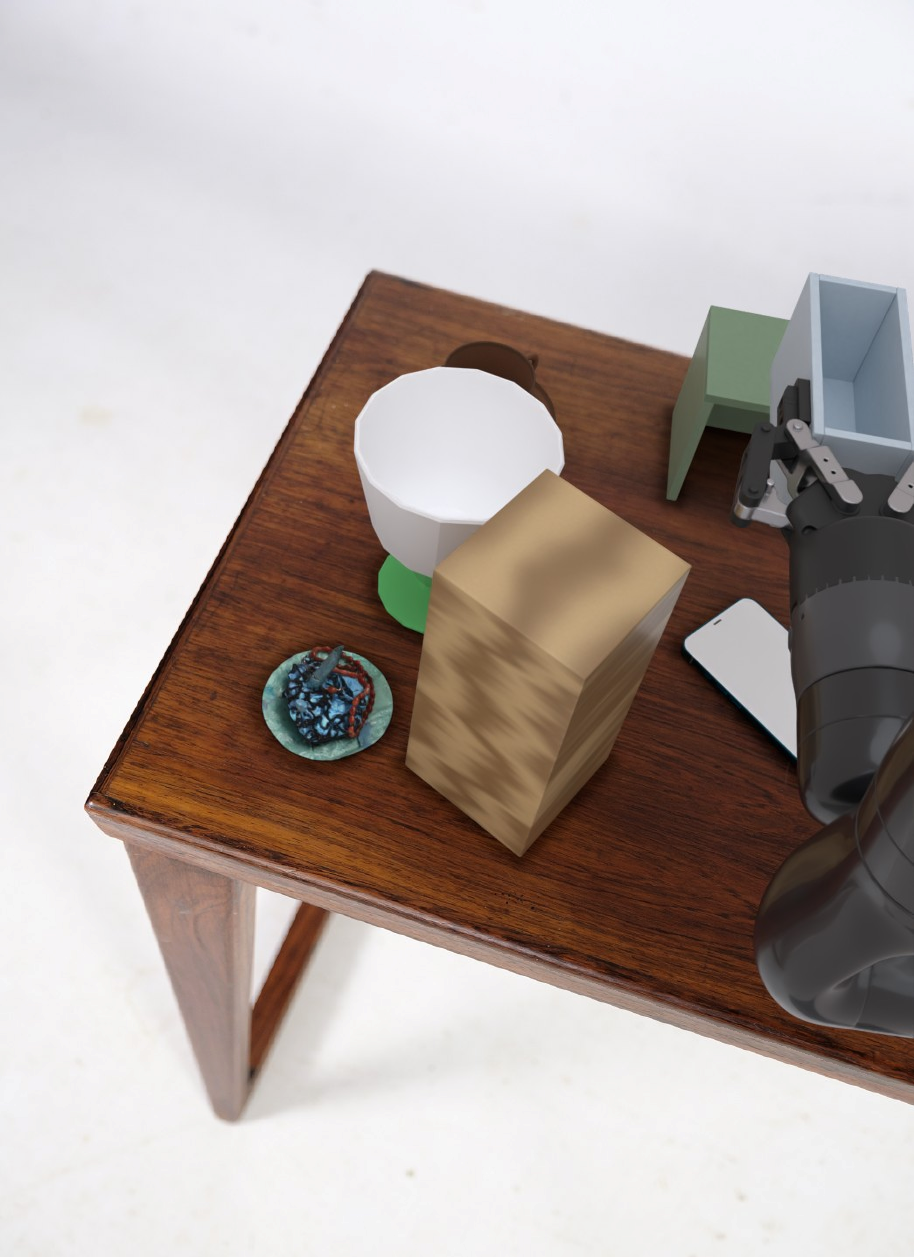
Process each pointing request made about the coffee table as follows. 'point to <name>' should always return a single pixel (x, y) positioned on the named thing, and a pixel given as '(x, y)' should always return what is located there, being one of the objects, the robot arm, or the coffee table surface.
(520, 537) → the stand
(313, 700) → the dish
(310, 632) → the coffee table surface
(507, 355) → the cup and saucer
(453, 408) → the cup
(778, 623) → the smartphone
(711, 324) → the cabinet
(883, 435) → the bin
